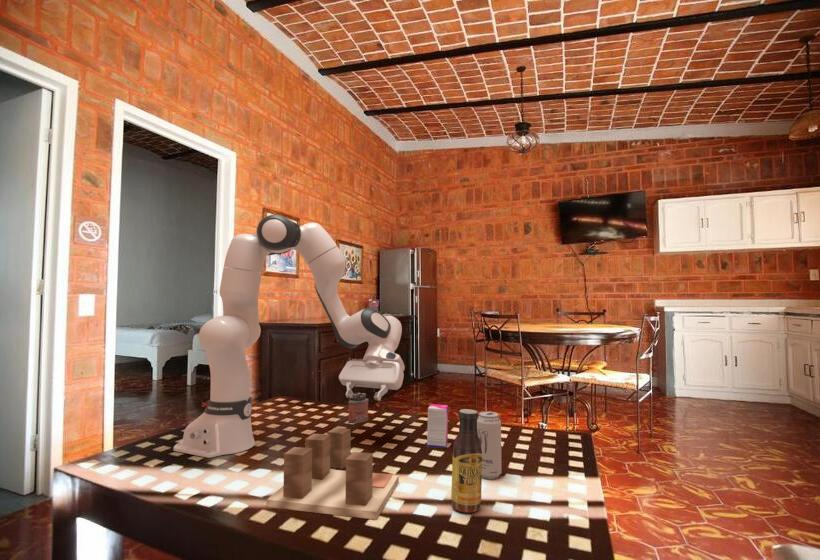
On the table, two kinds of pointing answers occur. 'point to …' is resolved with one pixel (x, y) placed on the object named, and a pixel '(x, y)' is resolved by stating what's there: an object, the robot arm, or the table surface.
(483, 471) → the energy drink can
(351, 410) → the lighter
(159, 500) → the table surface
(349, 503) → the board
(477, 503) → the sauce bottle
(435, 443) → the supplement box
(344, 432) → the walnut peg
